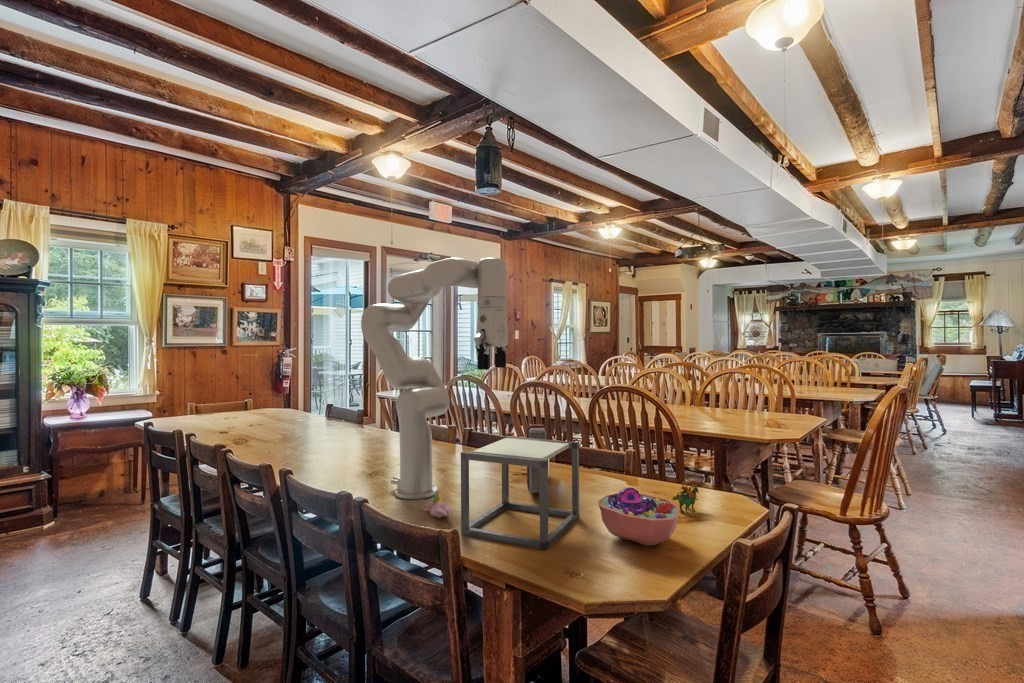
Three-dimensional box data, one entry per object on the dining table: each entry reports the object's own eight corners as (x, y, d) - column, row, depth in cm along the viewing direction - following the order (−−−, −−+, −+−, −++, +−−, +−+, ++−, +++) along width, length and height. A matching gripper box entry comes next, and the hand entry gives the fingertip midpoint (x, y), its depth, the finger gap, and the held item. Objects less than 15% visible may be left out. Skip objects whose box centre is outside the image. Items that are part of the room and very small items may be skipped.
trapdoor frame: (461, 534, 125) (460, 452, 124) (504, 506, 145) (503, 435, 145) (545, 550, 115) (545, 461, 115) (579, 517, 136) (578, 442, 136)
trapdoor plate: (472, 455, 126) (472, 450, 126) (506, 441, 143) (506, 437, 143) (542, 463, 118) (542, 458, 118) (569, 447, 135) (569, 442, 135)
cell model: (635, 564, 108) (635, 509, 108) (584, 531, 127) (584, 484, 126) (699, 550, 115) (699, 498, 115) (641, 521, 133) (641, 476, 133)
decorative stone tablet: (549, 428, 152) (545, 421, 182) (526, 428, 152) (526, 421, 182) (549, 496, 151) (545, 478, 181) (527, 496, 151) (526, 477, 181)
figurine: (703, 509, 142) (703, 479, 142) (676, 519, 134) (676, 487, 134) (693, 506, 144) (693, 476, 144) (666, 515, 137) (666, 484, 137)
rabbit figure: (418, 515, 142) (437, 523, 129) (417, 493, 143) (436, 498, 130) (440, 512, 145) (461, 519, 132) (439, 490, 146) (459, 495, 133)
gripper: (488, 302, 132) (489, 370, 132) (518, 305, 147) (518, 367, 147) (463, 303, 135) (463, 370, 135) (494, 306, 151) (494, 366, 151)
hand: (492, 368), depth 141 cm, fingers open, 9 cm apart
